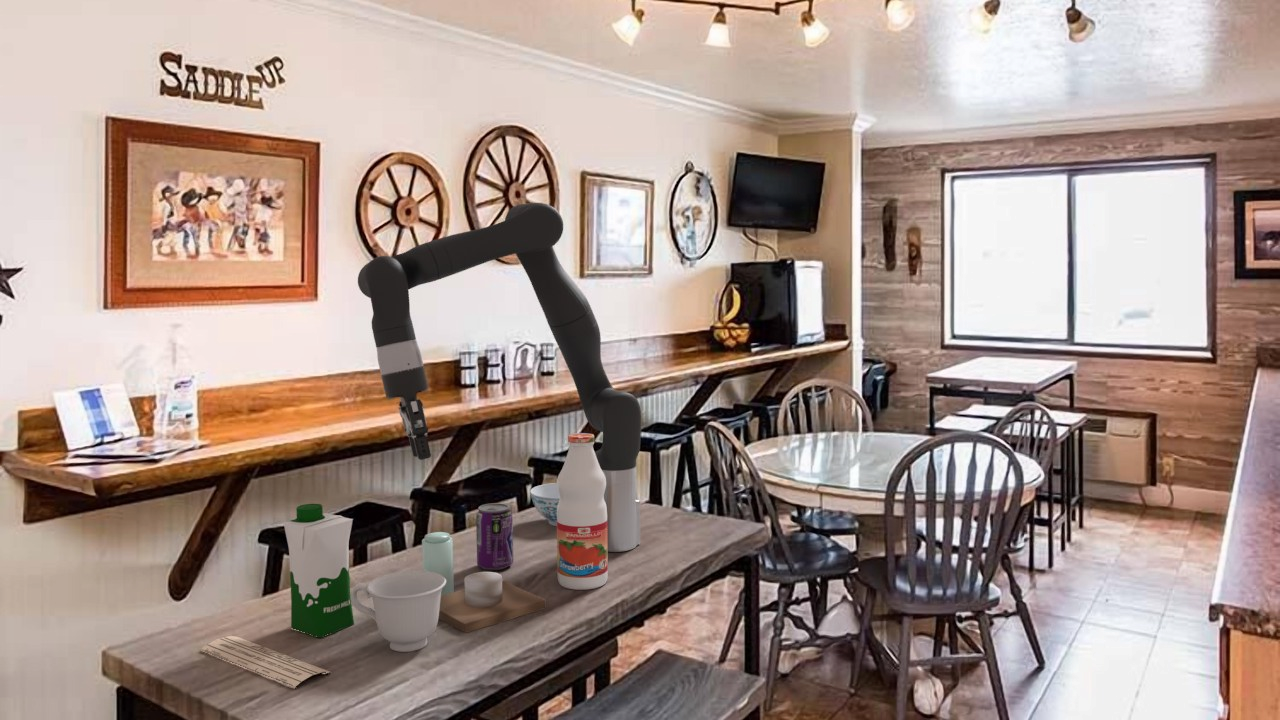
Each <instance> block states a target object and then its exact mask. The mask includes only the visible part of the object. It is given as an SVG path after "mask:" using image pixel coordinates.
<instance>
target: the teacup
mask: <svg viewBox="0 0 1280 720" xmlns="http://www.w3.org/2000/svg"><path fill="white" fill-rule="evenodd" d="M445 584H446V579H445V578H444V577H443V576H442V575H440V574H438V573H434V572H429V571H423V570H405V571H402V570H401V571H397V572H391V573H387V574H384V575H381V576H379V577H377V578H374V579H372V580H371V581H370V582H369V583H368V584H367V583H365V582H358V583H356V584H355V585H353V587H352V588H351V589H350V599H351V604H352V607H354V608H355V610H357V611H359V612H360V613H363V614H366V615H368V616H370V617H371V618H373V620H375V623H376V626H377V629H378V632H379V633H380V635H381V636H382V638H384V640H387V641H389V643H390V644H389V648H390V649H391V650H392V651H395V652H399V653H400V652H401V653H402V652H403V653H406V652H407V653H408V652H415V651H417V650H419V651H420V650H421V649H423V648H424V647H426V646H427V644H428V637H430V636H431V635H432V634H433V633H434V632H435V631H436V628H437V626H438V622H439V618H438V617H439V609H440V598H441V591H442V588H443V586H444V585H445ZM358 591H363V592H364V593H365V597H366V598H367V599H370V598H371V599H372V604H373V608H370V607H369V606H366V605H364V604H362V603H361V601H360V600H359V599H358V596H357V592H358Z"/></svg>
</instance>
